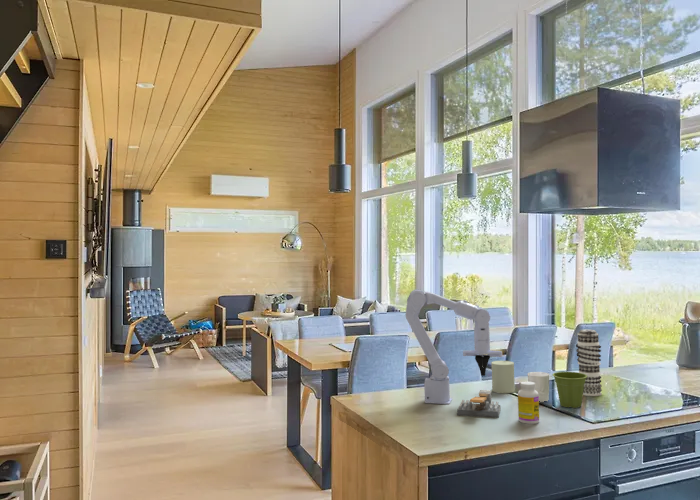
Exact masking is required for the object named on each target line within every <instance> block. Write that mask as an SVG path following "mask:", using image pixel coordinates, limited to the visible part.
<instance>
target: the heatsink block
mask: <svg viewBox="0 0 700 500" xmlns="http://www.w3.org/2000/svg"><path fill="white" fill-rule="evenodd" d="M501 407H502V406H501V404H499V401H492V403H491V405H490V404H489V401H486V404H480V403H473V402H470V400H468V399H467V400H466V401H465V399H462V400H461V402H460V403H459V406H458V408H457V410H456V411H457V412H456V414H457V416H462V417H463V416H466V417H479V418H480V417H481V418H482V417H483V418H498V419H499V417H500V414H501Z"/></svg>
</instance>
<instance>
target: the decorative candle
mask: <svg viewBox="0 0 700 500" xmlns="http://www.w3.org/2000/svg"><path fill="white" fill-rule="evenodd" d="M576 334H577V342H576V344H575V348H577V349H575V350H576V356H577V359H576V360H577V364H578V373H582V374H586V375H587V378H586V380H585V384H584V390H583V396H585V397H586V396H587V397H588V396H589V397H599V396H602V395H603V394H602V393H603V392H602V391H603V389H602V384H601V383H602V380H601V379H602V376H601V371H600V368H601V367H600V366H601V364H602V363H601V361H602V359H601V357H602V355H601V354H600V353H601V352H602V349H601V348H602V345H600V341H599V338H600V337H599V333H598V331H596V330H595V329H585V328H584V329H580V330H579V331H578V332H577V333H576Z"/></svg>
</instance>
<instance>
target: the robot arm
mask: <svg viewBox="0 0 700 500" xmlns="http://www.w3.org/2000/svg"><path fill="white" fill-rule="evenodd" d="M406 299H407V300H406V307H405V308H406V309H405V318H406V320H407V322H408V325H409V326H410V329H411V330H412V332H413V334H414V336H415V338H416V340H417V342H418V343H419V345H420V347H421V349H422V351H423V352H424V355H425V357H426V358H427V361H428V363H429V365H430V370H431V373H432V374H431V375H430V376H429V377H425V379H424V387H423V388H424V403H425V404H438V405H440V404H441V405H450V404H451V402H452V401H453V397H451V390H450V376H449V371H450V370H449V369H450V368H449V367H448V366H447V362H446V361H445V360H443V359H442V358H441V357H440V355H439V353H438V351H437V350H436V348H435V346H434V344H433V342H432V340H431V338H430V335H428V332H427V331H426V329H425V327H424V324H423V323H422V321H421V320H420V318H419V315H420V312H421V309H422V308H423V307H424V305H425V304H426V305H431V304H436V305H438V306H441V307H444V308H447V309H451V310H453V312H454V314H455V315H456V316H460V317H462V318H464V319H466V320H469V321H474V322H473V323H474V324H473V325H474V327H473V332H474V333H473V337H474V340H473V341H474V349H471V350H470V349H468V350H466V349H465V350H463V351H462V356H463V357H474V359H475V361H476V364H477V365H478V366H477V367H478V369H479V372H480V376H482V377H486V372H487V367H488V363H489V361H490V357H494V358H495V357H496V358H503V351H501V350H500V351H499V350H492V349H491V345H490V344H491V342H490V341H491V340H490V323H489V322H490V320H491V315H490V313H489V311H488V310H486V309H485V308H483V307H481V306H480V305H477V304H476V305H474V304H471V303H469V302H468V300H466V299H463V300H458V301H454V300H451V299H449V298H447V297H445V296H441V295H439V294H436V293H433V292H431V291H425V290H421V289H416V288H415V289H413V290H411V292H410V293H409V294H408V297H407V298H406Z"/></svg>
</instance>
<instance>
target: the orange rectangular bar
mask: <svg viewBox="0 0 700 500" xmlns="http://www.w3.org/2000/svg"><path fill="white" fill-rule="evenodd" d="M485 400H487V397H480V396H474V397H472V398H470V400H469V401H470V402H472V404H480V403H485Z"/></svg>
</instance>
